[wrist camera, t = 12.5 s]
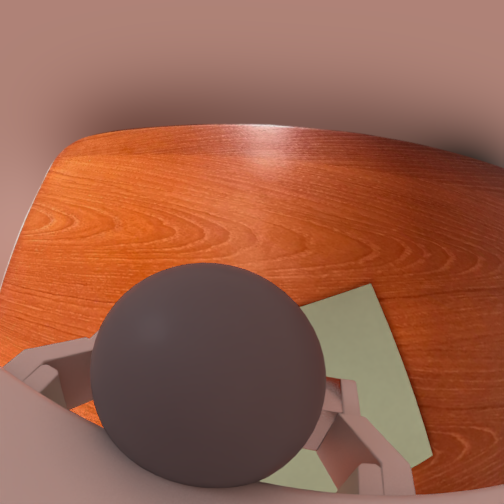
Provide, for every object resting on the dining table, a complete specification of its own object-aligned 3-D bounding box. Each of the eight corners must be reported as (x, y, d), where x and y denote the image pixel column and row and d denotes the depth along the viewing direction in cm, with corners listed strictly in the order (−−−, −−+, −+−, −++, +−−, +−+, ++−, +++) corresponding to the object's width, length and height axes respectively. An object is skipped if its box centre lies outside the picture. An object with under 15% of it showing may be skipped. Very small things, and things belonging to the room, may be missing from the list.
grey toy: (198, 449, 13) (79, 545, 2) (172, 359, 15) (26, 249, 4) (294, 423, 14) (417, 466, 3) (264, 334, 16) (299, 173, 5)
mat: (190, 539, 16) (189, 542, 16) (131, 353, 23) (129, 352, 22) (430, 454, 19) (433, 455, 18) (369, 285, 26) (371, 283, 25)
